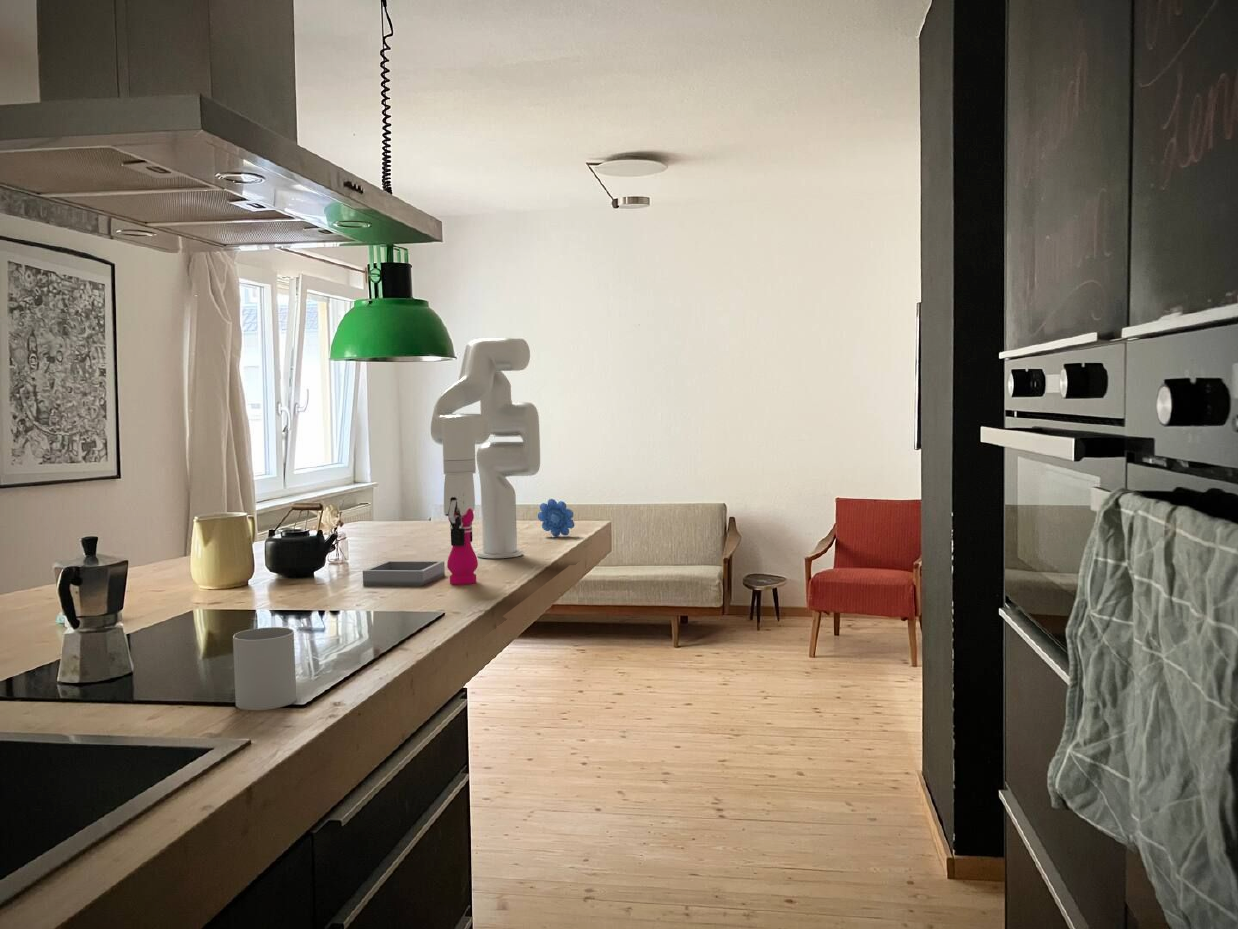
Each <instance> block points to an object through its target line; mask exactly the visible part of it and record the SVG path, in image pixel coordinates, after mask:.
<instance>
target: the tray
mask: <svg viewBox="0 0 1238 929" xmlns="http://www.w3.org/2000/svg"><path fill="white" fill-rule="evenodd" d="M445 568H446V567H445V560H439V561H438V560H386V561H384V562H381V563H378V564H376V565H374V566H372V567H368V568H367V569H364V570H362V586H366V587H367V586H368V587H369V586H373V587H374V586H375V587H376V586H378V587H379V586H380V587H381V586H382V587H383V586H385V587H392V586H393V587H425V586H427V585H428V584H430V583H432V582H434V581H437V580H438V579H441V578H442V577H444V576H446V574H445V573H446V572H445Z"/></svg>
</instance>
